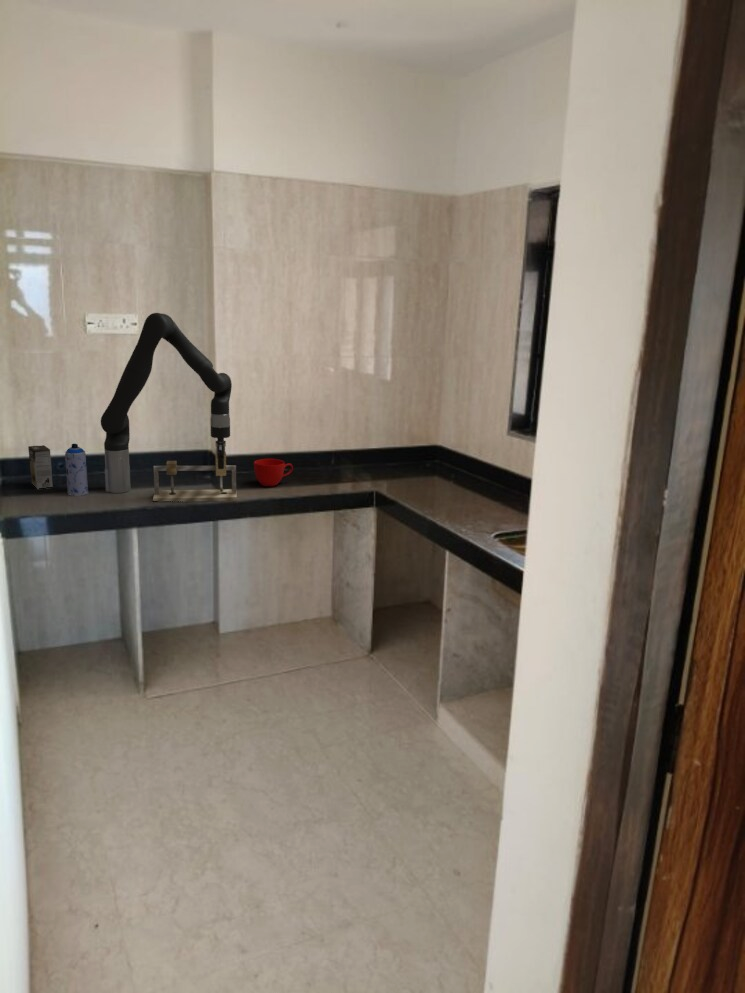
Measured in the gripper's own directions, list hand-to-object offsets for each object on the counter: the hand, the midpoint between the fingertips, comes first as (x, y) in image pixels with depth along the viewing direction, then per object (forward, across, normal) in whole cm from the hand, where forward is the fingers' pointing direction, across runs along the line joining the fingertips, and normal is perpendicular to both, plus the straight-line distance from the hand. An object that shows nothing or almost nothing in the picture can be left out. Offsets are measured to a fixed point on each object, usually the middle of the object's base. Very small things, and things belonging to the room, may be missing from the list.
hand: (221, 466), depth 297 cm
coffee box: (+13, -20, -72) cm, 76 cm away
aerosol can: (+13, -8, -56) cm, 58 cm away
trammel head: (+10, 0, 0) cm, 10 cm away
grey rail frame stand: (+12, 0, -10) cm, 16 cm away
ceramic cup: (+13, -19, +22) cm, 32 cm away
